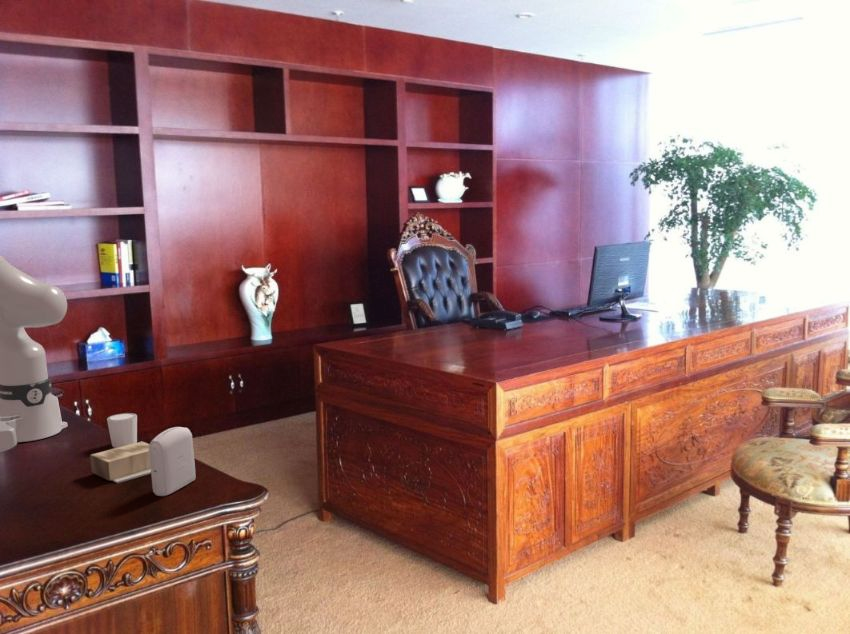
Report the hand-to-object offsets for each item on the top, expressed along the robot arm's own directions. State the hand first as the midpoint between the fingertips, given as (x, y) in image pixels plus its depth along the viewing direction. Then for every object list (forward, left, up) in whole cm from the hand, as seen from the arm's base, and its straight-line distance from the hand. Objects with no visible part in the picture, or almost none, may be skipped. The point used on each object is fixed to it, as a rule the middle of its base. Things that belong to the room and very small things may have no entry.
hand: (22, 420), depth 161 cm
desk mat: (0, +22, -16) cm, 27 cm away
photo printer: (+18, +22, -16) cm, 33 cm away
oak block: (0, +14, -14) cm, 20 cm away
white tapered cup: (-19, +29, -16) cm, 38 cm away
